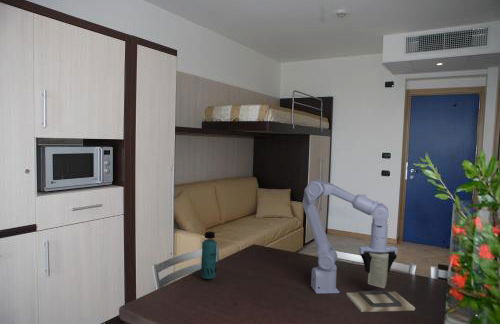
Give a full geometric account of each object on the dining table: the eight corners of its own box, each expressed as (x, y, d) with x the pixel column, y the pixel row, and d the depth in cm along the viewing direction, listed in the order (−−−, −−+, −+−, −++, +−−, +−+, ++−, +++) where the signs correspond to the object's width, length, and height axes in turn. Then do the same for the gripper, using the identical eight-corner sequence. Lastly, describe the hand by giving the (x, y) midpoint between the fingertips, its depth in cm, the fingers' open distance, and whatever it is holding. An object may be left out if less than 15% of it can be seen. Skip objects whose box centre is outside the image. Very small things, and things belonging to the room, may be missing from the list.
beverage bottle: (197, 280, 140) (198, 233, 139) (205, 275, 146) (206, 229, 145) (211, 283, 137) (212, 235, 136) (219, 277, 143) (220, 231, 142)
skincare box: (386, 284, 128) (389, 253, 126) (384, 289, 124) (387, 258, 122) (369, 279, 131) (372, 249, 129) (366, 284, 127) (369, 253, 125)
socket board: (361, 311, 117) (361, 306, 117) (346, 295, 130) (346, 290, 130) (415, 310, 119) (415, 304, 119) (395, 294, 132) (395, 289, 132)
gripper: (391, 233, 131) (389, 267, 132) (356, 233, 130) (354, 268, 130) (401, 238, 124) (399, 274, 125) (364, 238, 123) (362, 275, 123)
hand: (377, 271), depth 127 cm, fingers closed on skincare box, 7 cm apart
